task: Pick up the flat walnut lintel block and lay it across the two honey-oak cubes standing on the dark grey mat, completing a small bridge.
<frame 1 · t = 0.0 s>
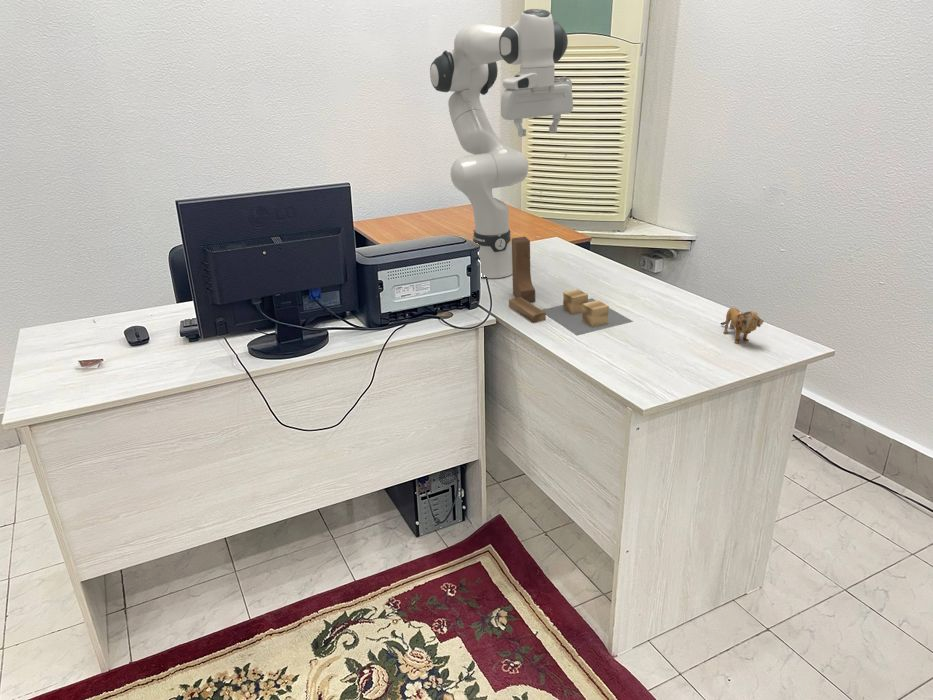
hand: (537, 134, 182), 48 cm above the table, tool pointing down, fingers open, 8 cm apart
cube a: (575, 309, 194), resting on mat
mat: (584, 317, 190), on the table
cube b: (594, 321, 186), resting on mat
wooden block: (523, 299, 205), on the table
lintel: (526, 315, 194), on the table
lion figurine: (738, 338, 173), on the table
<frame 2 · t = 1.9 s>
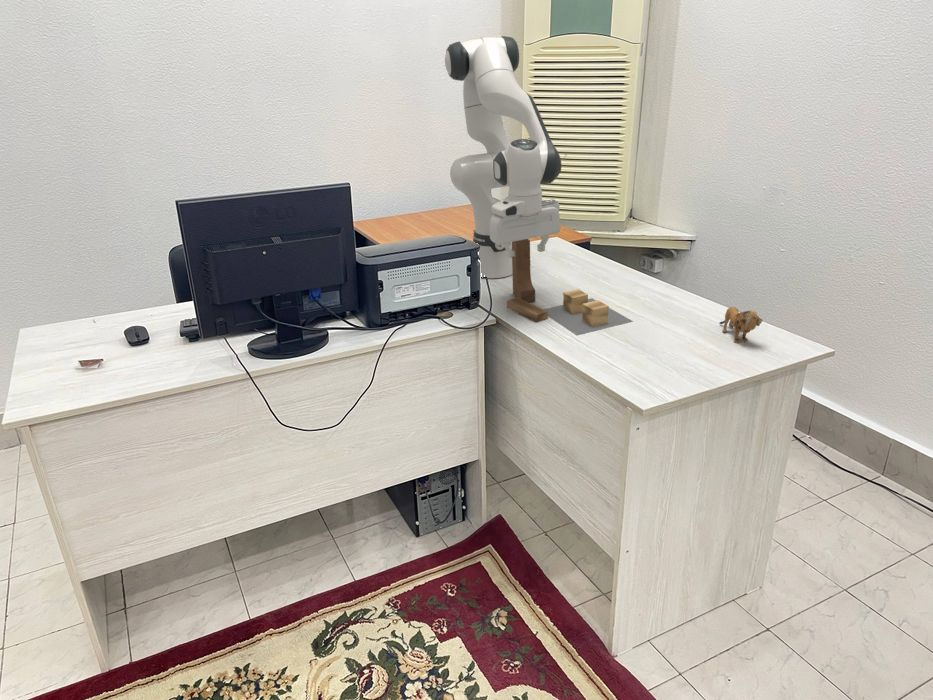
hand: (526, 254, 186), 18 cm above the table, tool pointing down, fingers open, 8 cm apart
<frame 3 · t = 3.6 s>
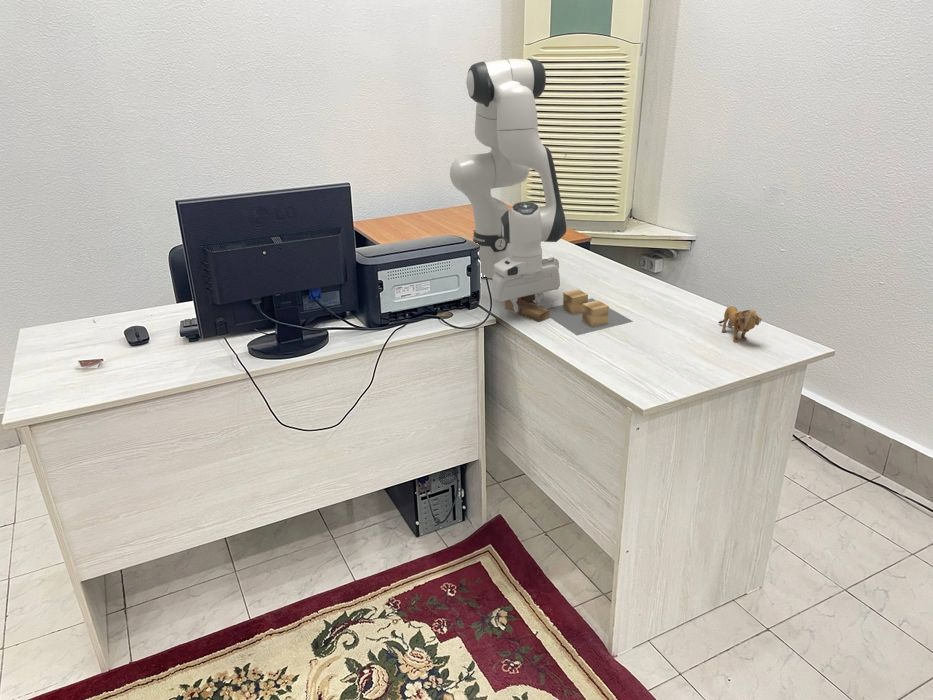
hand: (526, 309, 193), 2 cm above the table, tool pointing down, fingers closed on lintel, 5 cm apart
lintel: (526, 315, 194), on the table, touching gripper
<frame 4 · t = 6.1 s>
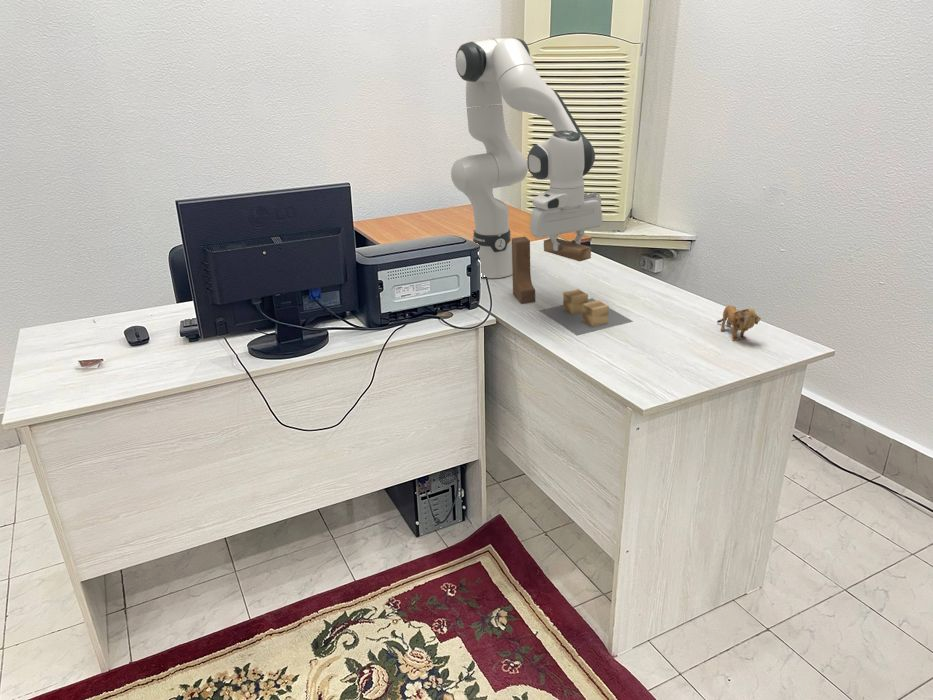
hand: (566, 248, 182), 20 cm above the table, tool pointing down, fingers closed on lintel, 4 cm apart
lintel: (566, 254, 183), point 18 cm above the table, touching gripper
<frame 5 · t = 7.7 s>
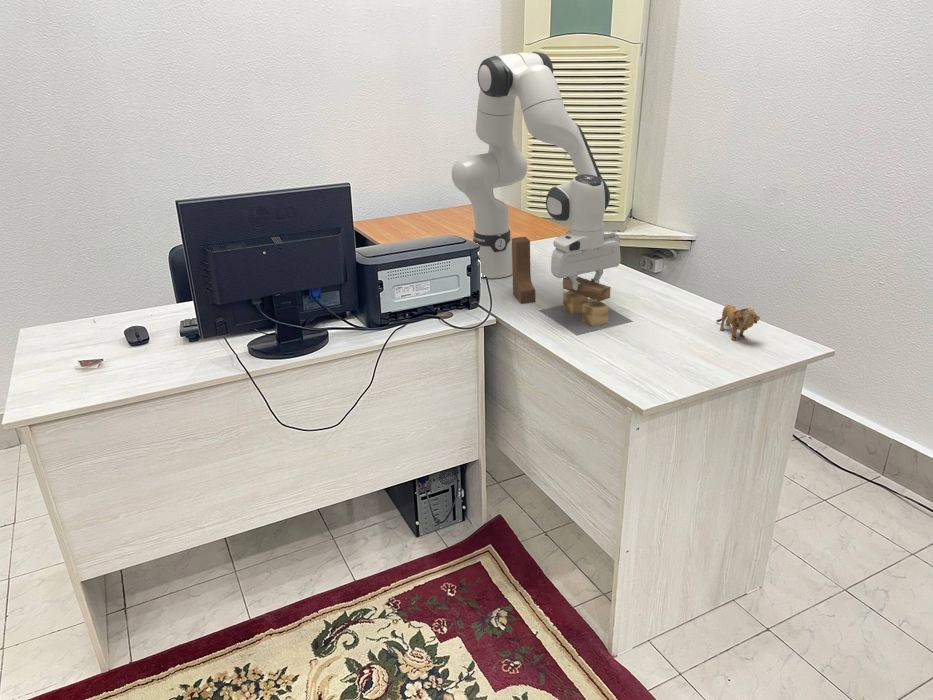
hand: (585, 287, 186), 9 cm above the table, tool pointing down, fingers closed on lintel, 4 cm apart
lintel: (586, 292, 187), point 7 cm above the table, touching gripper
when the fingers open (7 cm above the table, at t = 8.4 s): lintel stays where it is, resting on cube a, cube b.
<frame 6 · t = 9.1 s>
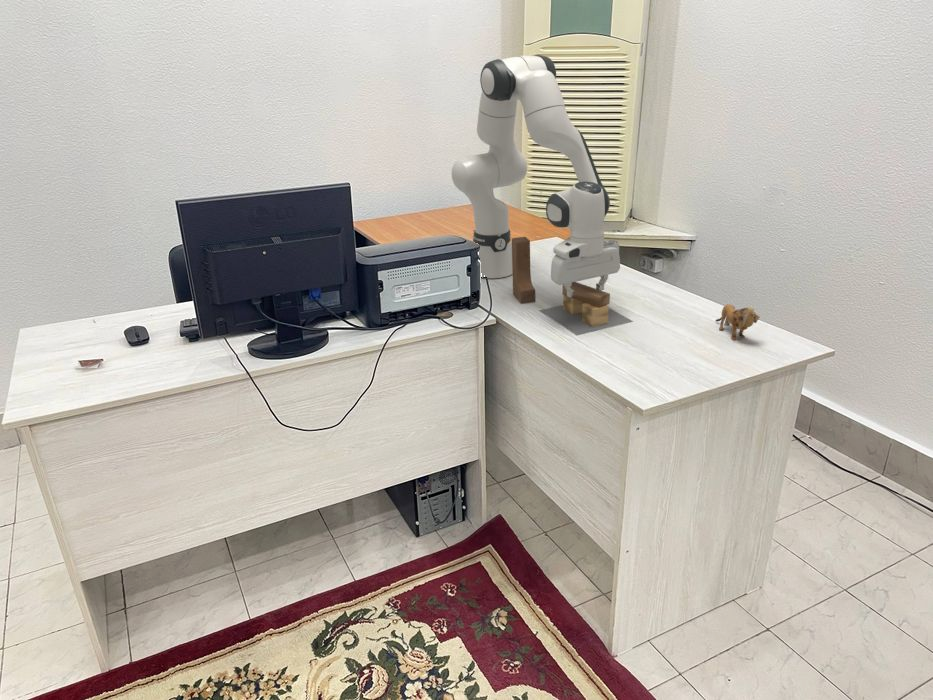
hand: (585, 293, 187), 7 cm above the table, tool pointing down, fingers open, 8 cm apart
cube a: (575, 309, 194), resting on mat, touching lintel
cube b: (594, 321, 186), resting on mat, touching lintel
lintel: (585, 299, 188), point 5 cm above the table, touching cube a, cube b
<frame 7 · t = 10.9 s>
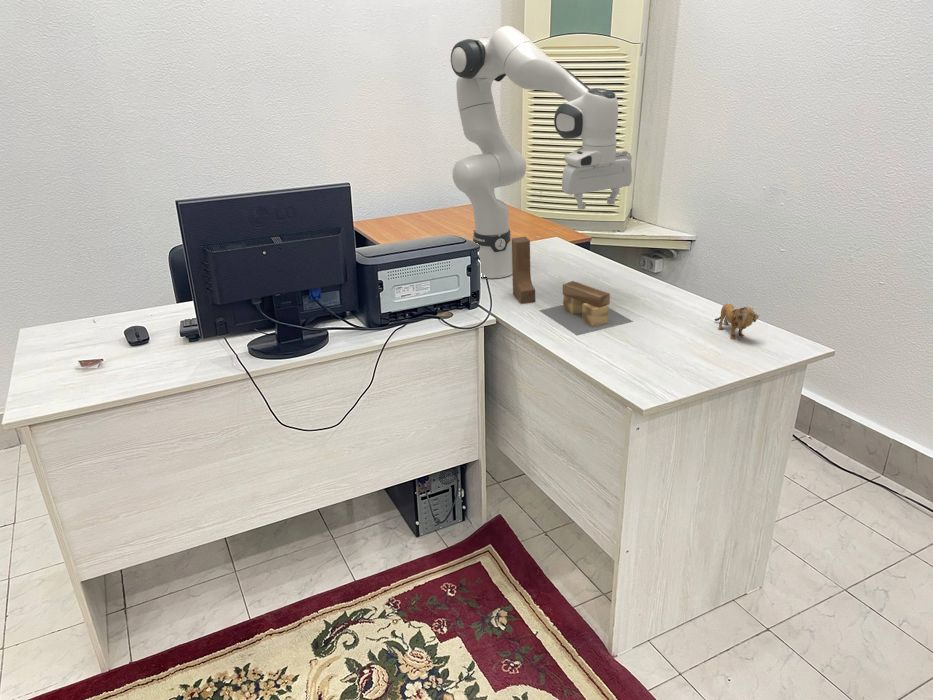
hand: (596, 206, 186), 29 cm above the table, tool pointing down, fingers open, 8 cm apart
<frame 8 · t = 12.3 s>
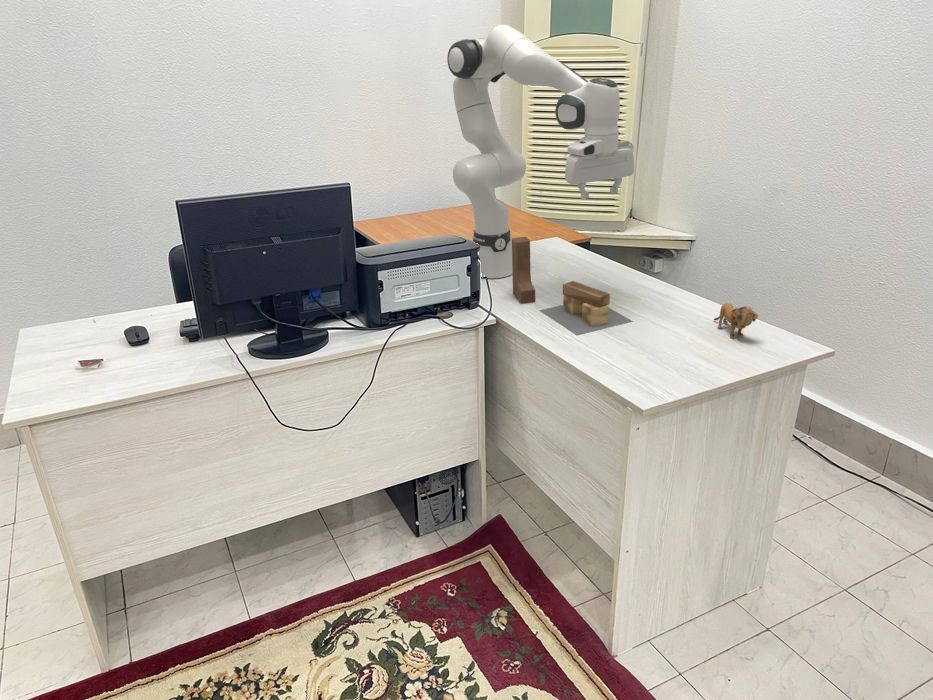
hand: (599, 196, 186), 31 cm above the table, tool pointing down, fingers open, 8 cm apart
at the end: lintel inside the target area (0.0 cm from its centre), point 5.4 cm above the table; lintel tilted 0°; lintel touching cube a, cube b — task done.
